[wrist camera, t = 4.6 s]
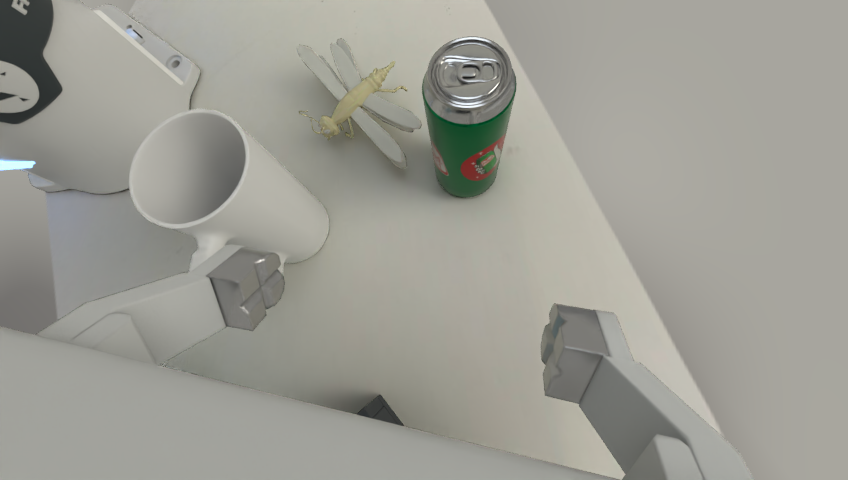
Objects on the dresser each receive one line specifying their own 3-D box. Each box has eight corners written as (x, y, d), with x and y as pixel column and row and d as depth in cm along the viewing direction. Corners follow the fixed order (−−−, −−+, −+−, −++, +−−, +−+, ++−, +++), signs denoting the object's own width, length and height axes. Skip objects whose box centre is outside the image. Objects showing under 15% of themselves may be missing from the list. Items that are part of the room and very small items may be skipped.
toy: (456, 145, 30) (455, 110, 25) (375, 208, 29) (357, 186, 24) (359, 43, 34) (342, -4, 29) (285, 97, 33) (255, 59, 28)
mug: (259, 195, 31) (137, 116, 19) (332, 186, 30) (252, 100, 19) (254, 310, 28) (109, 299, 17) (333, 303, 28) (241, 287, 16)
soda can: (437, 145, 30) (421, 32, 18) (496, 144, 29) (518, 26, 18) (435, 200, 29) (417, 115, 17) (496, 200, 28) (521, 112, 17)
